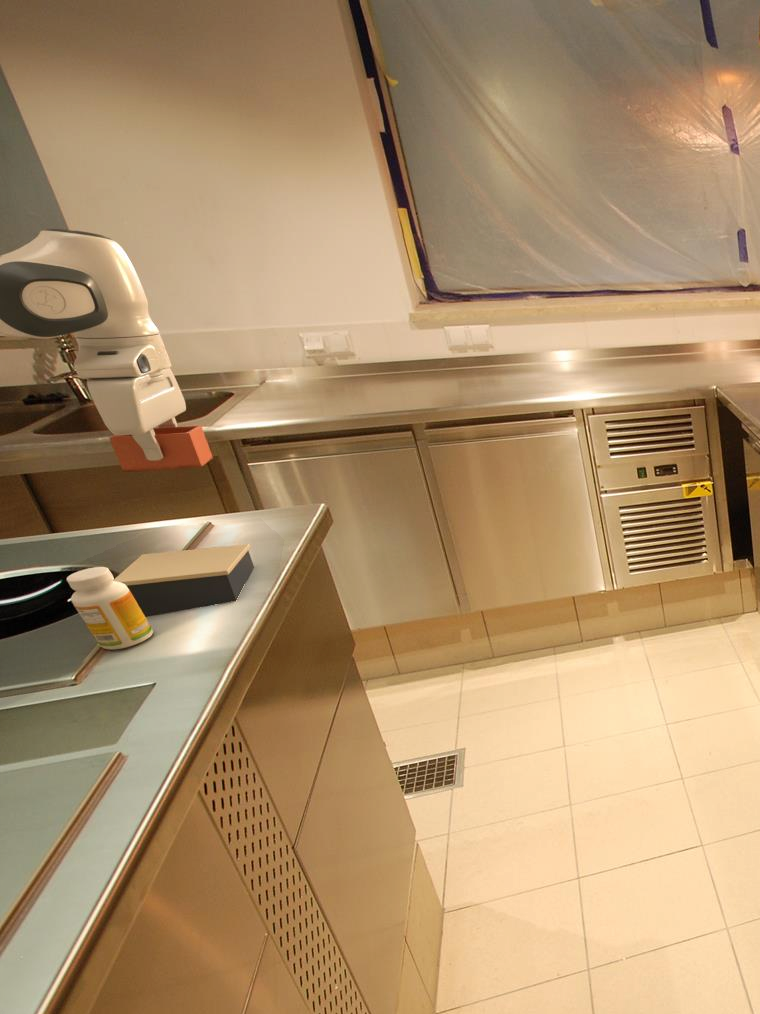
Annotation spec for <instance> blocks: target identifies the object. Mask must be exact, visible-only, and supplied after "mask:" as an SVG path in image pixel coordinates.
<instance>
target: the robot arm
mask: <svg viewBox="0 0 760 1014" xmlns="http://www.w3.org/2000/svg"><path fill="white" fill-rule="evenodd" d="M69 334H73V336H74V338H75V340H76V343H77V345H78V352H77V356H76V358H75V360H74V362H73V367H74V370H75V372H76V374H77V377H78V378H80V379H83V380H85V379H87V381H86V386H87V389H88V390H87V391H88V392H89V394H90V397H91V399H92V401H93V404H94V406H95V407H96V410H97V411H98V414H99V415H100V417H101V420H102V421H103V423H104V424H105V426H106V428H107V429H108V430H109V431H110V432H111V433H112V434H113V436H114V435H132V436H133V438H134V440H135V441H136V442H137V443H138V444H139V446H140V447H141V448H142V449H143V451H144V454H145V456H146V458H147V459H148V460H150V461H154V460H161V459H163V458H164V457H165V454H164V451H163V448H162V446H159V444H158V442H157V440H156V439H155V437H154V436H155V432H154V430H153V428H165V427H178V422H177V420H176V417H177V416H178V415H180V414H182V413H184V412H186V411H187V404H186V400H185V398H184V395H183V393H182V390H181V388H180V386H179V384H178V381H177V379H176V377H175V375H174V373H173V371H172V369H171V368H172V366H173V364H172V362H171V360H170V356H169V355H168V351H167V349H166V347H165V343H164V341H163V338H162V335H161V333H160V330H159V329H158V327H157V326H156V324H154V321H153V320H152V318H151V316H150V312H149V301H148V298H147V296H146V293H145V290H144V287H143V285H142V283H141V279H140V278H139V276H138V273H137V271H136V269H135V267H134V265H133V262H132V261H131V259H130V257H129V256H128V254H127V253H126V251H125V250H124V248H123V247H122V246H121V245H120V244H119V243H118V242H117V241H116V240H113V239H112V238H110V237H107V236H105V235H102V234H98V233H94V232H93V233H92V232H89V231H82V230H73V229H71V230H70V229H66V228H65V229H64V228H46V229H42V230H40V231H39V234H37V236H36V237H35V238H34V239H32V240H31V241H29V242H27V244H24V245H23V246H21V247H19V248H16V249H15V250H13V251H10V252H7V253H4V254H2V255H0V338H17V339H18V338H19V339H41V340H42V339H44V340H45V339H53V338H59V337H62V336H65V335H69Z"/></svg>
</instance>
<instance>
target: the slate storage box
mask: <svg viewBox="0 0 760 1014" xmlns="http://www.w3.org/2000/svg"><path fill="white" fill-rule="evenodd" d="M250 549H251V545H250V544H249V543H245V544H244V543H243V544H235V545H234V544H233V545H224V546H214V547H204V548H195V549H183V550H173V551H162V552H153V553H151V552H150V553H142V554H141V555H140V556H139V557H138V558H136V559H135V560H134V561H133V562H132V563H131V564H130V565H128V567H126V568H125V569H124V570H123V571H122V572H120V574H119V575H117V576H116V577H115V578H114V580H113V581H116V582H121V583H123V584H125V585H126V586H127V587H128V589H129V590H130V592H131V594H132V595H133V597H134V598H135V600H136V602H137V604H138V605H139V607H140V609H141V610H142V612H143V614H144V616H145V617H146V618H149V617H155V616H159V615H160V616H161V615H166V614H172V613H176V612H177V613H178V612H183V611H189V610H194V609H199V608H200V607H201V608H206V607H211V605H212V606H216V605H215V604H218V605H223V604H229V603H232V602H231V601H235V602H237V601H238V599H239V597H240V596H239V594H240V592H241V590H242V588H243V586H244V584H245V583H246V584H247V582H248V581H249V578H250V576H251V575H250V574H252V573H253V570H254V569H255V565H254V562H253V560H252V557H251V554H250ZM246 581H247V582H246ZM246 584H245V585H246ZM244 587H245V586H244ZM243 589H244V588H243ZM242 591H243V590H242ZM241 593H242V592H241ZM240 595H241V594H240ZM238 596H239V597H238ZM237 598H238V599H237ZM236 600H237V601H236ZM228 602H229V603H228ZM201 608H200V609H201Z"/></svg>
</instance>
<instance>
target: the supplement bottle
mask: <svg viewBox="0 0 760 1014" xmlns="http://www.w3.org/2000/svg"><path fill="white" fill-rule="evenodd" d="M114 579H115V578H114V575H113V573H112V572H111V570H110V569H109V568H108V567H106V566H94V567H90V568H89V567H88V568H84V569H81V570H78V571H75V572H73V573H71V574H70V575H68V576H67V577H66V582H67V583H68V585H69V587H70V588H71V590H73V591H74V592H73V593H72V595H71V596H70V601H71V603H72V605H73V607H74V608H75V609H76V611H77V612H78V614H79V616H80V618H81V619H82V621H83V623H85V625H86V626H87V628H88V629H89V631H90V633H91V635H92V636H93V637H94V639H95V640H96V642H97V644H98V645H99V647H100V648H102V649H104V650H105V649H106V650H121V649H125V648H130V647H133V646H135V645H138V644H140V643H142V642H144V641H146V640H147V639H149V638H151V636H152V635H153V633H154V630H153V628H152V625H151V623H150V622H149V620H148V619H147V617H145V616H144V614H143V612H142V610H141V609H140V607H139V605H138V604H137V602H136V600H135V598H134V597H133V595H132V594H131V592H130V590H129V589H128V587H127V586H126V585H125V584H123V583H121V582H116V581H113V580H114Z"/></svg>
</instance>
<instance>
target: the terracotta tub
mask: <svg viewBox="0 0 760 1014" xmlns="http://www.w3.org/2000/svg"><path fill="white" fill-rule="evenodd" d="M153 430H154V432H155V436H154V437H155V439H156V440H157V442H158V444H159V446H162V448H163V451H164V454H165V457H164V458H163V459H161V460H154V461H150V460H148V459H147V458H146V456H145V454H144V451H143V449H142V448H141V447H140V446H139V444H138V443H137V442H136V441H135V440H134V438H133V436H132V435H114V434H113V435H112V436H109V441H110V443H111V445H112V448H113V450H114V453H115V454H116V457H117V460H118V462H119V465H120V467H121V469H122V472H123V473H132V472H148V471H161V470H162V471H164V470H174V469H175V470H177V469H187V468H188V469H189V468H202V467H203V466H204V465H206V464H207V463H208V462H210V461H211V460H212V459H214V457H213V454H212V452H211V448H210V445H209V443H208V440H207V438H206V435H205V432H204V430H203V427H202V425H186V426H185V425H184V426H177V427H165V428H158V427H155V428H153Z"/></svg>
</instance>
